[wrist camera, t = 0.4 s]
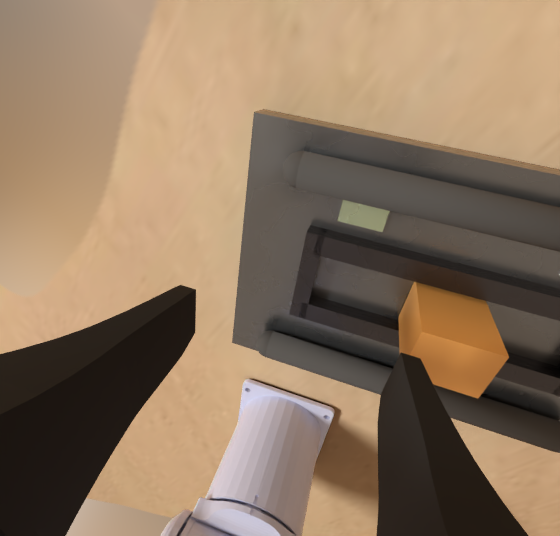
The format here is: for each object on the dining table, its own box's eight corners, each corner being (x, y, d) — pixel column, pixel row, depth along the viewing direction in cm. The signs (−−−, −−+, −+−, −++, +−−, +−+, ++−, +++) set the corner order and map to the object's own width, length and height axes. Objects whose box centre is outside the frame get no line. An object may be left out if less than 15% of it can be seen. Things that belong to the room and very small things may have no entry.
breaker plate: (570, 435, 22) (589, 472, 20) (239, 329, 26) (226, 351, 24) (807, 220, 14) (880, 246, 12) (263, 109, 18) (246, 114, 16)
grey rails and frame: (555, 435, 21) (568, 463, 19) (260, 340, 24) (251, 358, 23) (756, 245, 14) (801, 267, 12) (291, 144, 17) (281, 151, 15)
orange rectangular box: (461, 335, 19) (478, 398, 15) (398, 316, 20) (400, 374, 16) (484, 297, 18) (509, 357, 14) (415, 278, 18) (422, 331, 15)
